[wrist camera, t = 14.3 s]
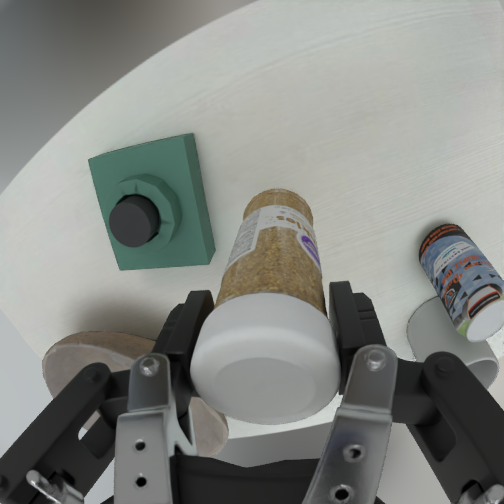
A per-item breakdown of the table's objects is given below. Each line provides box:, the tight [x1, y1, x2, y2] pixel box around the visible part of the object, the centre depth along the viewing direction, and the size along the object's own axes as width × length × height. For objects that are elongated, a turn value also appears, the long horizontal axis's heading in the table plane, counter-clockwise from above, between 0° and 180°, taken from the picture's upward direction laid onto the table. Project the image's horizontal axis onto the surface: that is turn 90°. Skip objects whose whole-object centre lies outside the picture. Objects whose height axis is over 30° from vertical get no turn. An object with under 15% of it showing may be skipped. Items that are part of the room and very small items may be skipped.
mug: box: [407, 297, 499, 390], centre depth 29 cm, size 12×8×11 cm
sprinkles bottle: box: [190, 189, 341, 425], centre depth 14 cm, size 5×5×14 cm
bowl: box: [42, 331, 228, 457], centre depth 37 cm, size 26×26×10 cm
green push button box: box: [88, 133, 215, 270], centre depth 28 cm, size 12×10×5 cm
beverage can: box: [419, 224, 504, 342], centre depth 24 cm, size 6×7×12 cm
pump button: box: [109, 195, 159, 248], centre depth 25 cm, size 4×4×2 cm
